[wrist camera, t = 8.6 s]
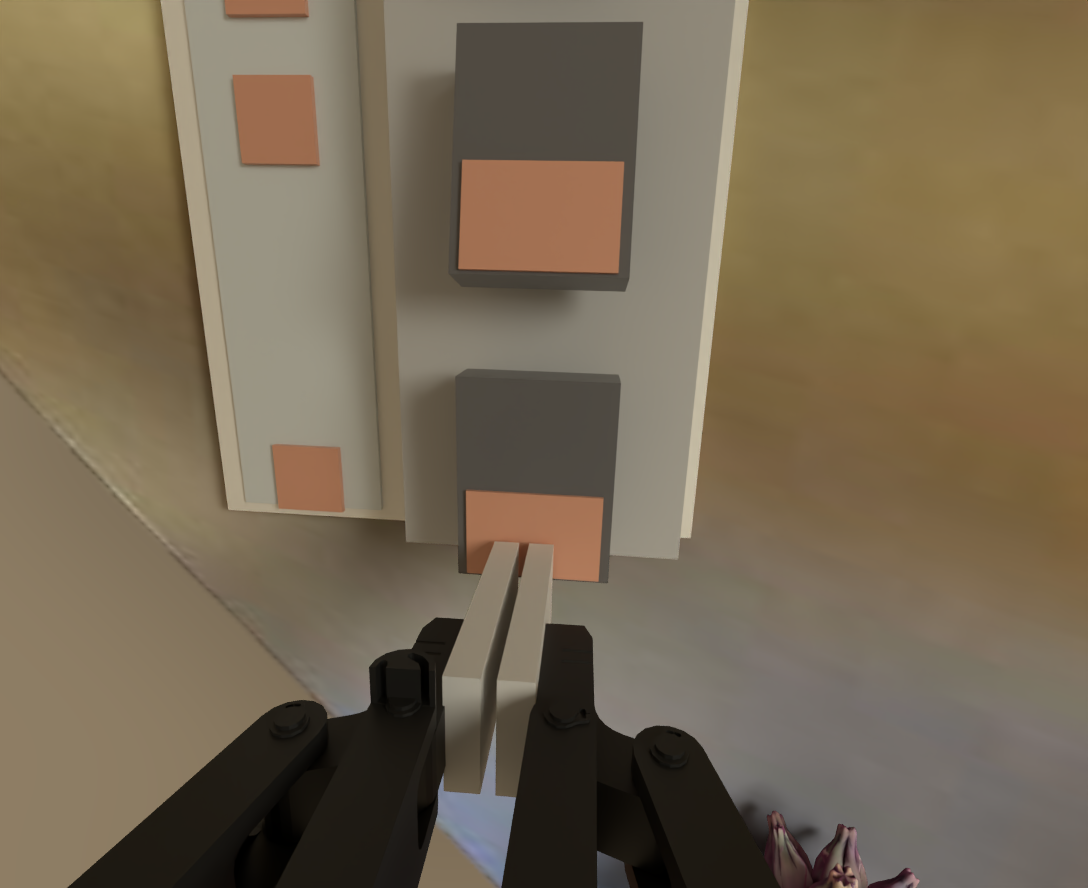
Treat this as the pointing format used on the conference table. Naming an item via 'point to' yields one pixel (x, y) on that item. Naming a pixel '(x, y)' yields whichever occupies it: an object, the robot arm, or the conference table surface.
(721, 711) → the conference table surface
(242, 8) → the switch panel
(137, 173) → the conference table surface
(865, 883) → the flower
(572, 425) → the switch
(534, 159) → the middle switch
